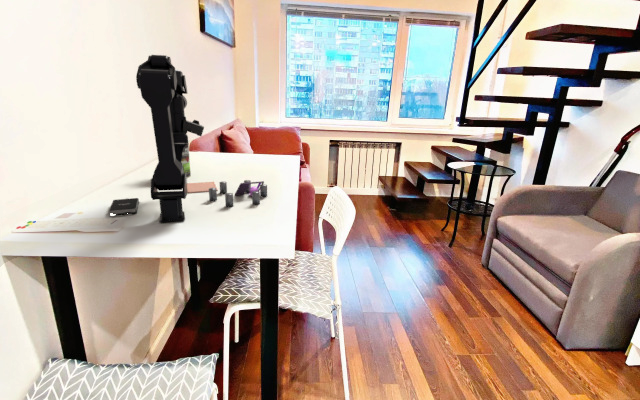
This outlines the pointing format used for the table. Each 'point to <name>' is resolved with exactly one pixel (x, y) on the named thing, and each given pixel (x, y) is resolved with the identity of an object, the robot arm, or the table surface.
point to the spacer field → (229, 196)
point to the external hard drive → (124, 206)
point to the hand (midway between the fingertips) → (179, 161)
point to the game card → (244, 186)
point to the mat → (200, 187)
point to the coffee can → (186, 161)
